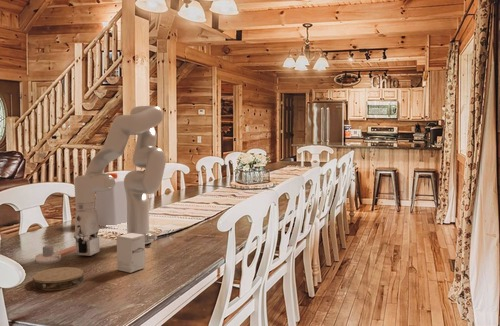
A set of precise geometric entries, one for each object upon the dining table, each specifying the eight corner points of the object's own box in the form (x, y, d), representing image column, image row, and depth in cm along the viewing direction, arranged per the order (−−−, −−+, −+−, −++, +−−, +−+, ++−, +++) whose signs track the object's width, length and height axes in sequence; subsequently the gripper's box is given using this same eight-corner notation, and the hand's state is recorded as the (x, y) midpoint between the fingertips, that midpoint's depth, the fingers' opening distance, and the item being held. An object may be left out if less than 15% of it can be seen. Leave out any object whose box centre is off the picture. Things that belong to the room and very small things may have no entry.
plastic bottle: (91, 227, 255) (89, 173, 253) (114, 222, 267) (113, 171, 265) (110, 231, 246) (109, 175, 244) (133, 226, 259) (132, 173, 257)
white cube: (99, 251, 199) (98, 236, 199) (90, 255, 193) (89, 240, 193) (86, 250, 201) (85, 236, 201) (76, 254, 195) (75, 239, 195)
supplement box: (131, 273, 175) (130, 238, 174) (116, 270, 179) (115, 235, 178) (145, 268, 181) (145, 234, 180) (131, 265, 185) (130, 232, 184)
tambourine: (48, 274, 174) (48, 266, 174) (91, 276, 172) (91, 267, 172) (23, 289, 158) (22, 280, 158) (70, 291, 156) (69, 282, 156)
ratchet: (92, 248, 210) (91, 235, 209) (50, 265, 184) (50, 250, 184) (74, 247, 212) (73, 233, 212) (30, 263, 187) (30, 248, 186)
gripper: (80, 210, 186) (83, 257, 188) (106, 202, 203) (108, 245, 204) (63, 210, 188) (66, 255, 190) (90, 202, 205) (92, 244, 207)
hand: (88, 250), depth 197 cm, fingers closed on white cube, 6 cm apart
